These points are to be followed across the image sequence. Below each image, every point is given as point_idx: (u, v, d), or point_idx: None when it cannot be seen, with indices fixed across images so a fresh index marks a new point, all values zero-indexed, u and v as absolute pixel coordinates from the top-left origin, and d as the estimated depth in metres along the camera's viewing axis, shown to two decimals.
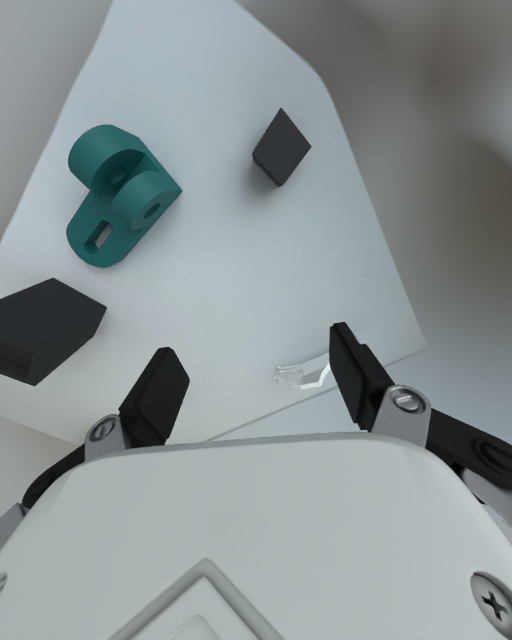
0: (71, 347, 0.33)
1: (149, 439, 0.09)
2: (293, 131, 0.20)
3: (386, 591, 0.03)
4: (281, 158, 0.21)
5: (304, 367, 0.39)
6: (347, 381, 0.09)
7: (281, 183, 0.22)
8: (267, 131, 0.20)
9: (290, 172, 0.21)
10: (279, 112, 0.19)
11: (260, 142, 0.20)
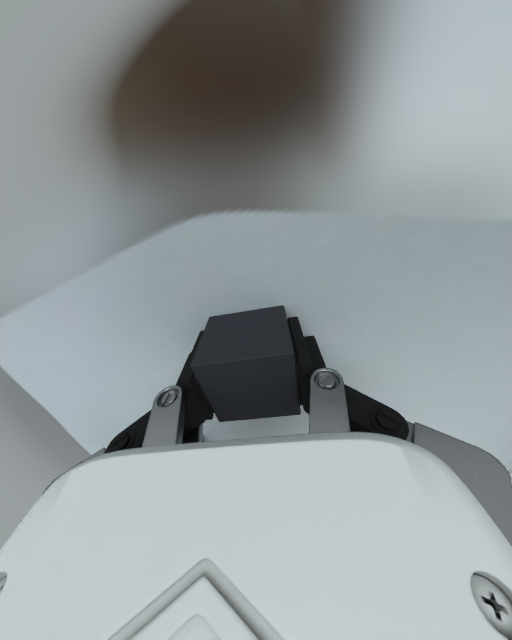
0: None
1: (203, 410, 0.09)
2: (240, 367, 0.08)
3: (386, 591, 0.03)
4: (263, 398, 0.09)
5: None
6: None
7: (296, 413, 0.10)
8: (208, 396, 0.09)
9: (295, 397, 0.09)
10: (195, 372, 0.08)
11: (214, 409, 0.10)
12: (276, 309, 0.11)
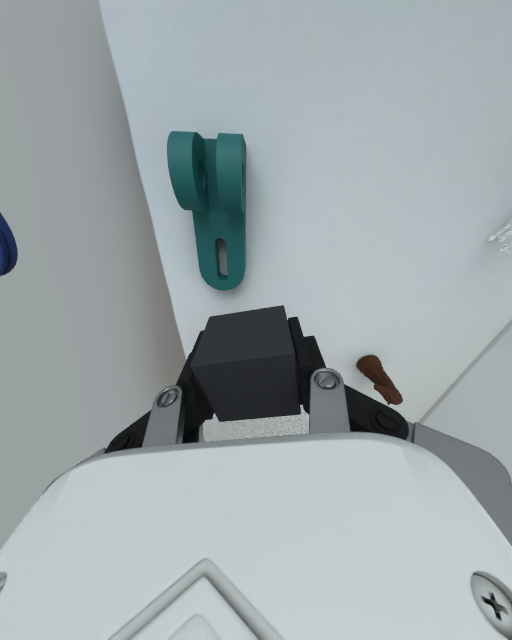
0: None
1: (203, 410, 0.09)
2: (241, 367, 0.08)
3: (386, 591, 0.03)
4: (263, 398, 0.09)
5: None
6: None
7: (296, 413, 0.10)
8: (208, 396, 0.09)
9: (296, 397, 0.09)
10: (195, 371, 0.08)
11: (214, 409, 0.10)
12: (276, 309, 0.11)
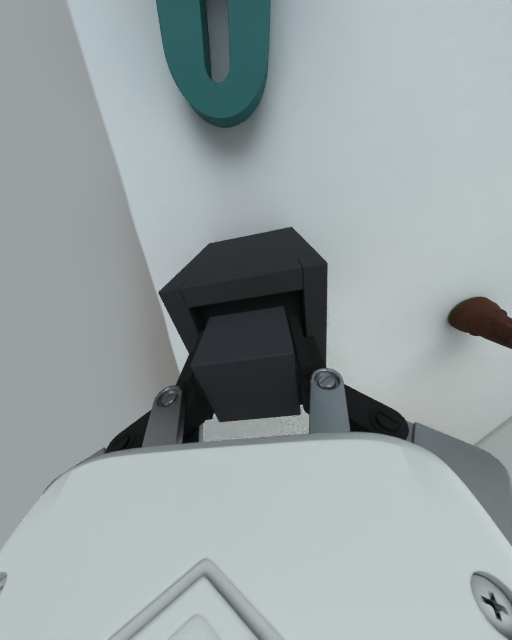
0: None
1: (203, 410, 0.09)
2: (241, 367, 0.08)
3: (386, 591, 0.03)
4: (263, 398, 0.09)
5: None
6: None
7: (296, 414, 0.10)
8: (208, 396, 0.09)
9: (296, 398, 0.09)
10: (195, 372, 0.08)
11: (214, 409, 0.10)
12: (276, 309, 0.11)
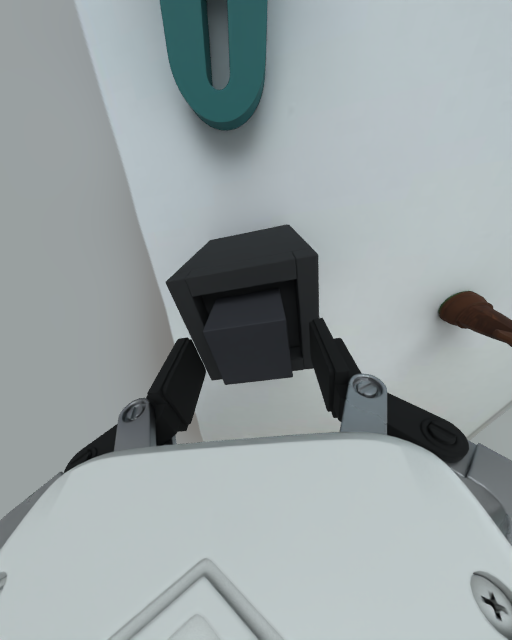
0: None
1: (174, 423, 0.09)
2: (243, 332, 0.10)
3: (386, 591, 0.03)
4: (261, 361, 0.11)
5: None
6: (321, 372, 0.09)
7: (289, 376, 0.12)
8: (216, 359, 0.11)
9: (288, 360, 0.11)
10: (206, 336, 0.10)
11: (221, 372, 0.12)
12: (273, 291, 0.13)
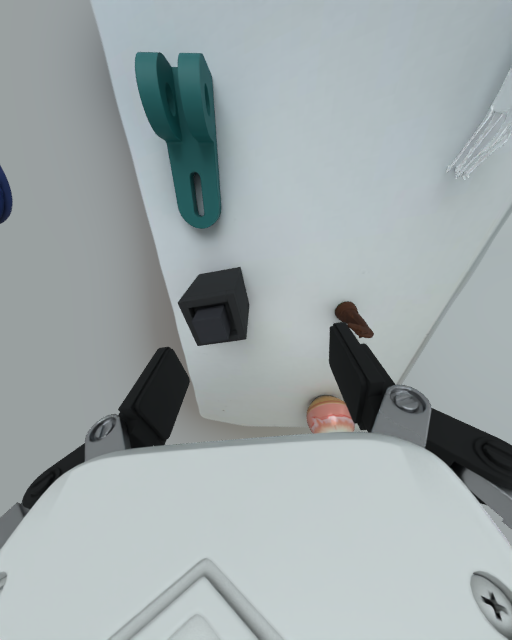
0: (243, 305, 0.36)
1: (149, 439, 0.09)
2: (206, 321, 0.29)
3: (386, 591, 0.03)
4: (214, 333, 0.30)
5: (497, 107, 0.24)
6: (347, 381, 0.09)
7: (226, 339, 0.31)
8: (197, 332, 0.30)
9: (224, 332, 0.30)
10: (193, 323, 0.29)
11: (199, 337, 0.30)
12: (221, 305, 0.31)
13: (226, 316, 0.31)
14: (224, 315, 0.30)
